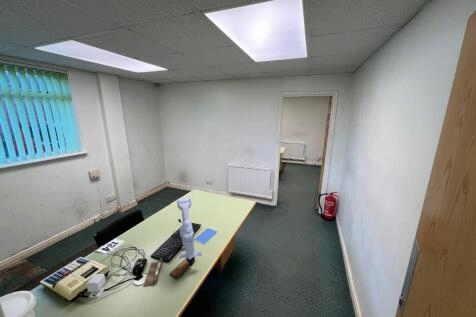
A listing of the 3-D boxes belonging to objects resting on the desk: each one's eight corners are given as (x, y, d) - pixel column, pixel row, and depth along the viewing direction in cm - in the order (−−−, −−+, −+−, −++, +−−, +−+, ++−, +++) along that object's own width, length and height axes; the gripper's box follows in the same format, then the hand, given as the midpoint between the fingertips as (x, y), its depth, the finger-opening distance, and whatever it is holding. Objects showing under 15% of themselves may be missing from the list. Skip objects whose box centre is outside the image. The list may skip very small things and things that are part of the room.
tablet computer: (205, 245, 150) (204, 244, 150) (193, 240, 156) (193, 239, 156) (218, 232, 167) (218, 231, 166) (207, 228, 173) (207, 227, 172)
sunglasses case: (186, 256, 138) (189, 252, 135) (193, 263, 136) (196, 259, 133) (167, 275, 122) (170, 270, 119) (174, 283, 121) (177, 278, 118)
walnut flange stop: (151, 263, 132) (150, 259, 131) (162, 262, 133) (162, 257, 132) (143, 286, 115) (142, 281, 114) (156, 284, 116) (155, 279, 115)
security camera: (107, 286, 115) (104, 273, 112) (99, 297, 108) (96, 284, 105) (96, 287, 114) (93, 274, 112) (88, 298, 108) (84, 284, 105)
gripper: (178, 254, 119) (179, 271, 123) (200, 251, 122) (201, 268, 125) (179, 246, 126) (181, 263, 129) (200, 244, 129) (201, 260, 132)
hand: (191, 265), depth 128 cm, fingers closed
